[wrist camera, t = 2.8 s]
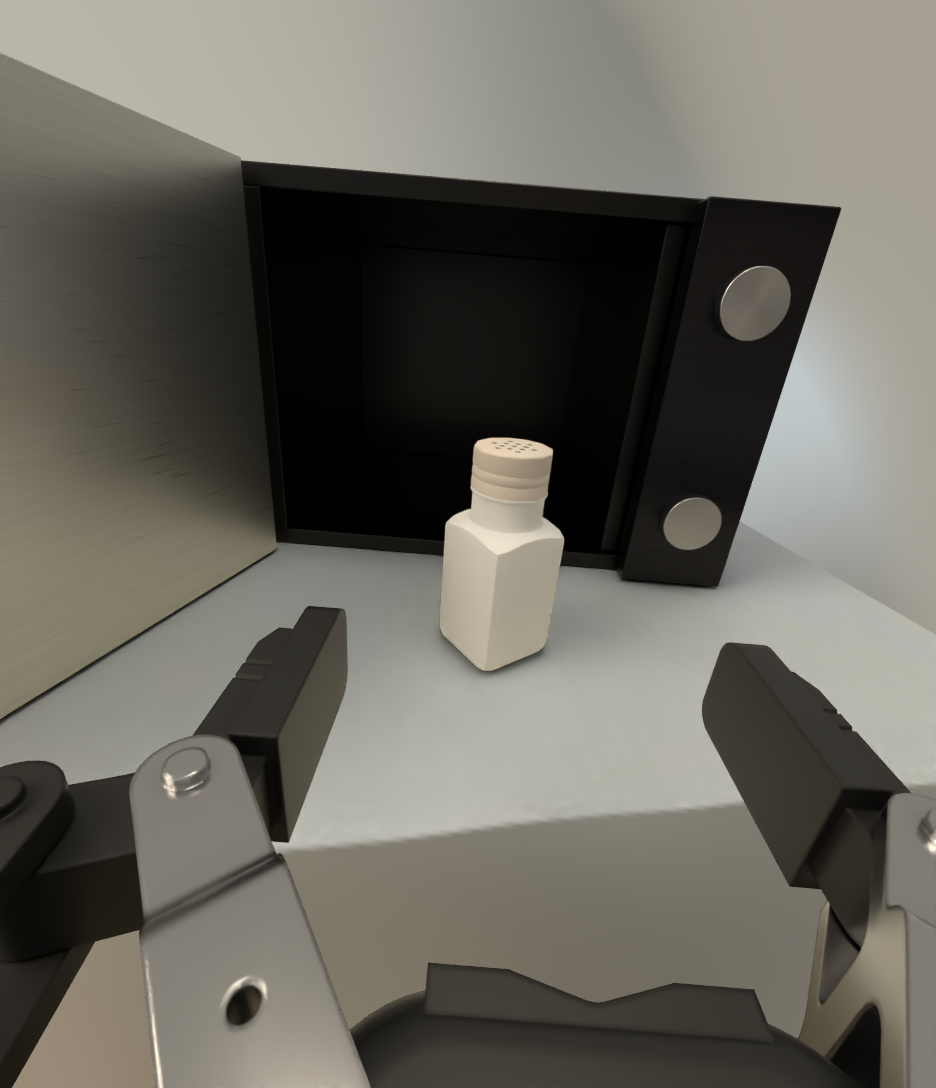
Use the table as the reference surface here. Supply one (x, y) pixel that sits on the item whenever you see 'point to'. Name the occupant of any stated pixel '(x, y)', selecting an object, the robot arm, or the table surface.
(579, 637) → the table surface
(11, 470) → the microwave door
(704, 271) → the microwave
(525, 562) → the pepper shaker
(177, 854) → the robot arm
